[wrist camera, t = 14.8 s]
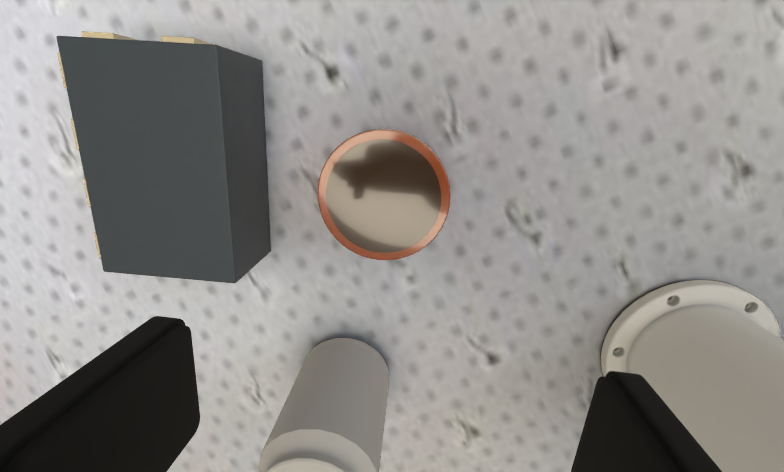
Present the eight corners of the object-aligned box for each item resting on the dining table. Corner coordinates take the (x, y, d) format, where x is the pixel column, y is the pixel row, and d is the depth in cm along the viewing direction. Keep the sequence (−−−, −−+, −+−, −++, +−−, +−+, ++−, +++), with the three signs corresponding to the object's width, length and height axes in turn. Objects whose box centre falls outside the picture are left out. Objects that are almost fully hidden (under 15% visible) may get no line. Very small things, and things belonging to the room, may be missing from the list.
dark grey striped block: (262, 55, 25) (216, 38, 19) (271, 251, 30) (235, 283, 24) (131, 48, 26) (48, 28, 20) (159, 242, 30) (98, 271, 24)
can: (295, 338, 32) (227, 461, 21) (379, 325, 31) (356, 447, 20) (319, 407, 34) (269, 552, 23) (398, 397, 33) (387, 544, 22)
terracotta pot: (448, 129, 26) (458, 134, 19) (437, 230, 28) (443, 266, 21) (343, 122, 26) (316, 124, 19) (341, 222, 28) (317, 255, 22)
